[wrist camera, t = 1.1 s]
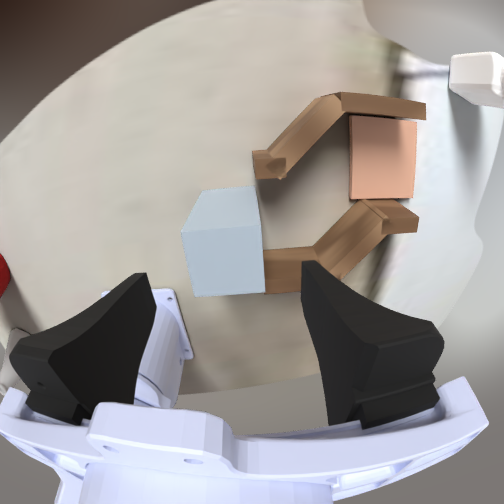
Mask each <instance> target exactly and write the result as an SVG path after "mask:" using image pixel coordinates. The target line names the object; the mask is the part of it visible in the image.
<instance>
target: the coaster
mask: <svg viewBox="0 0 504 504" xmlns="http://www.w3.org/2000/svg"><path fill="white" fill-rule="evenodd" d="M349 130H350V179H349V197H350V198H351V199H371V198H413V191H414V180H415V166H416V143H417V122H411V121H404V120H396V119H388V118H378V117H366V116H351V115H349Z"/></svg>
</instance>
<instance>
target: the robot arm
mask: <svg viewBox="0 0 504 504" xmlns="http://www.w3.org/2000/svg"><path fill="white" fill-rule="evenodd" d="M101 297H102V298H101V299H100V300H98V301H97V302H96V303H94V304H93V305H92V306H90V307H89V308H87V309H86V310H84V311H82V312H81V313H79V314H78V315H76V316H74V317H72V318H71V319H69V320H67V321H65V322H63V323H61V324H59V325H57V326H55V327H52V328H50V329H48V330H45V331H42V332H40V333H37V334H34V335H30V336H27V337H24V338H20V339H19V341H18V342H17V344H16V345H15V347H14V348H13V350H12V351H11V353H10V354H9V360H10V363H11V365H12V367H13V369H14V370H15V372H16V373H17V374H18V376H19V377H20V378H21V379H22V381H23V382H24V383H25V384H26V385H27V387H28V388H29V389H30V390H31V391H30V393H29V395H27V394H26V393H25V392H23V391H20V390H18V389H15V388H12V387H9V389H8V391H7V393H6V395H5V397H4V399H3V401H2V403H1V405H0V434H1V435H2V436H4V437H5V438H6V439H7V440H8V441H10V442H11V443H12V444H13V445H15V446H16V447H17V448H18V449H20V450H21V451H22V452H24V453H25V454H27V455H29V456H31V457H32V458H34V459H36V460H38V461H40V462H42V463H44V464H46V465H48V466H50V467H52V468H54V470H55V471H56V472H57V474H58V475H59V477H60V478H61V482H60V486H59V488H58V492H57V495H56V498H55V502H54V504H333V501H335V500H339V499H343V498H347V497H351V496H354V495H358V494H361V493H364V492H367V491H370V490H373V489H376V488H379V487H382V486H385V485H387V484H390V483H392V482H395V481H398V480H400V479H402V478H405V477H407V476H410V475H412V474H414V473H416V472H419V471H421V470H423V469H425V468H427V467H429V466H431V465H433V464H436V463H438V462H440V461H442V460H444V459H445V458H448V457H450V456H452V455H453V454H455V453H457V452H458V451H459V450H461V449H462V448H463V447H464V446H466V445H467V444H468V443H469V442H470V441H471V440H472V439H474V438H475V437H476V436H477V435H478V434H479V433H480V432H481V431H482V430H483V429H485V428H486V426H488V424H489V422H488V420H487V418H486V416H485V414H484V412H483V410H482V408H481V406H480V404H479V402H478V400H477V399H476V396H475V394H474V393H473V391H472V389H471V387H470V386H469V384H468V382H467V380H466V378H465V377H464V376H462V377H459V378H457V379H455V380H452V381H450V382H447V383H445V384H443V385H441V386H440V387H438V388H437V389H435V387H434V385H433V383H434V382H435V377H434V375H433V373H432V371H433V369H434V367H435V366H436V364H437V362H438V360H439V358H440V356H441V354H442V352H443V349H444V340H443V337H442V336H441V334H440V333H439V331H438V330H437V328H436V327H435V326H434V324H433V323H432V322H431V321H427V320H423V319H419V318H415V317H411V316H407V315H404V314H401V313H398V312H395V311H393V310H390V309H388V308H386V307H383V306H381V305H379V304H377V303H375V302H373V301H371V300H369V299H367V298H365V297H364V296H362V295H360V294H358V293H357V292H355V291H354V290H352V289H351V288H349V287H348V286H347V285H345V284H344V283H342V282H341V281H340V280H338V279H337V278H336V277H335V276H333V275H332V274H331V273H330V272H329V271H327V270H326V269H325V268H324V267H323V266H322V265H320V264H319V263H318V262H317V261H316V260H308V261H302V264H301V302H302V307H303V312H304V317H305V320H306V323H307V326H308V329H309V332H310V335H311V338H312V341H313V344H314V347H315V350H316V353H317V357H318V361H319V366H320V371H321V376H322V382H323V388H324V394H325V401H326V407H327V415H328V424H329V426H327V427H321V428H314V429H307V430H300V431H292V432H283V433H271V434H256V435H233V432H232V429H231V427H230V426H229V425H228V424H227V423H226V422H225V421H224V420H223V419H222V418H220V417H218V416H215V415H213V414H210V413H208V412H203V411H197V410H190V409H176V408H173V407H174V405H175V404H176V401H177V398H178V393H179V387H180V382H181V376H182V371H183V365H184V360H185V359H193V356H194V354H193V351H192V348H191V345H190V342H189V339H188V336H187V333H186V329H185V326H184V323H183V320H182V316H181V313H180V309H179V306H178V302H177V299H176V295H175V292H174V291H173V290H172V289H151V287H150V284H149V280H148V277H147V274H146V273H135V274H133V275H131V276H130V277H128V278H127V279H126V280H124V281H123V282H122V283H120V284H119V285H118V286H117V287H115V288H114V289H113V290H111V291H104V292H103V293H102V294H101ZM169 297H171V298H172V299H169ZM186 349H188V350H186Z"/></svg>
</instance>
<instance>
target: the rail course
mask: <svg viewBox="0 0 504 504" xmlns="http://www.w3.org/2000/svg"><path fill="white" fill-rule="evenodd" d="M343 113H358V114H370V115H381V116H390V117H400V118H410V119H419V120H426V103H421V102H416V101H411V100H405V99H399V98H393V97H386V96H378V95H370V94H360V93H348V92H338V93H334V94H329V95H325V96H321V97H320V98H316V99H314V100H313V101H312V102H311V103H310V104H309V105H308V106H307V108H306V109H305V110H304V111H303V112H302V113H301V114H300V115H299V116H298V117H297V118H296V119H295V120H294V121H293V122H292V123H291V124H290V125H289V126H288V127H287V128H286V129H285V130H284V132H283V133H282V134H281V135H280V136H279V137H278V138H277V139H276V140H275V141H274V142H273V143H272V144H271V146H270V147H269V148H268V149H267V150H256V151H252V154H253V167H254V172H255V177H256V179H269V178H279V179H280V180H281V179H282V178H285V177H287V176H286V173H287V172H288V171H289V170H290V169H291V168H292V167H293V166H294V165H295V164H296V162H297V161H298V160H299V159H300V158H301V157H302V156H303V155H304V154H305V153H306V152H307V151H308V150H309V149H310V148H311V147H312V146H313V144H314V143H315V142H316V141H317V140H318V139H319V138H320V137H321V136H322V135H323V134H324V133H325V132H326V131H327V130H328V129H329V128H330V127H331V126H332V125H333V124H334V123H335V122H336V121H337V120H338V119H339V118H340V116H341V115H342V114H343ZM418 222H419V217H418V216H417V215H416V214H414V213H413V212H411V211H410V210H408V209H407V208H405V207H404V206H403V205H401V204H400V203H398V202H397V201H395V200H394V199H392V198H374V199H359V200H358V201H357V202H356V203H355V204H354V205H353V206H352V207H351V208H350V209H349V210H348V211H347V212H346V213H345V214H344V215H343V216H342V217H341V218H340V219H339V220H338V221H337V222H336V223H335V224H334V225H333V226H332V227H331V228H330V229H329V230H328V231H327V232H326V233H325V234H324V235H323V236H322V237H321V238H320V239H319V240H318V241H317V242H316V243H315V244H314V245H313V246H310V247H297V248H285V249H272V250H263V263H264V279H265V292H264V294H275V293H286V292H296V291H301V264H302V261H308V260H316V261H317V262H318V263H319V264H320V265H322V266H323V267H324V268H325V269H326V270H327V271H329V272H330V273H331V274H332V275H333V276H335V277H336V278H337V279H338V280H341V279H342V278H343V277H344V276H345V275H346V274H347V273H348V272H349V271H350V270H351V269H352V268H354V267H355V266H356V265H357V264H358V263H359V262H360V261H361V260H362V259H363V258H364V257H365V256H366V255H367V254H368V253H369V252H370V251H371V250H372V249H373V248H374V247H375V246H376V245H377V244H378V243H379V242H380V241H381V240H382V239H383V238H384V237H385V236H386V235H387V234H399V233H414V232H417V228H418Z"/></svg>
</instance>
